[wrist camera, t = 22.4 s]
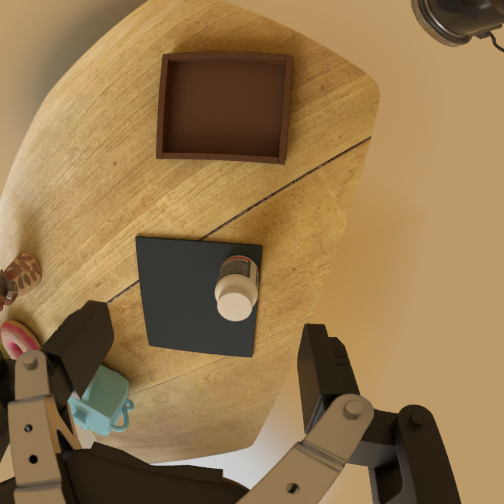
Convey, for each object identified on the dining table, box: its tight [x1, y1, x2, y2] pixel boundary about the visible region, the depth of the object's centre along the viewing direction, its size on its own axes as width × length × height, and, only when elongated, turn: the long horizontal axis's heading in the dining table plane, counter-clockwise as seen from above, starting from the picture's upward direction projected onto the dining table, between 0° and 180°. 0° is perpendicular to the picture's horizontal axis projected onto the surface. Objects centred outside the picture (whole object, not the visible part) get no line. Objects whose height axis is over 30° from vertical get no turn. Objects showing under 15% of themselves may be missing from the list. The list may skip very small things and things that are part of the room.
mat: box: [135, 236, 262, 357], centre depth 43 cm, size 18×20×1 cm
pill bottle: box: [215, 255, 258, 321], centre depth 37 cm, size 5×5×9 cm
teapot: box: [68, 365, 134, 436], centre depth 46 cm, size 18×16×14 cm
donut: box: [0, 320, 41, 360], centre depth 48 cm, size 14×13×5 cm
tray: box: [156, 52, 293, 165], centre depth 32 cm, size 16×14×2 cm
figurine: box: [0, 252, 41, 311], centre depth 37 cm, size 7×7×12 cm
